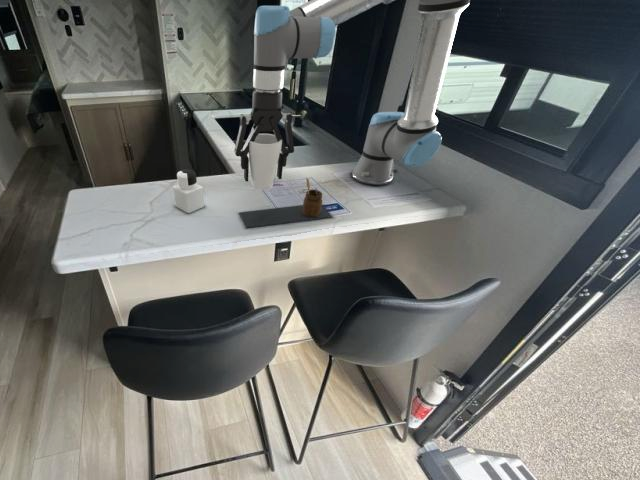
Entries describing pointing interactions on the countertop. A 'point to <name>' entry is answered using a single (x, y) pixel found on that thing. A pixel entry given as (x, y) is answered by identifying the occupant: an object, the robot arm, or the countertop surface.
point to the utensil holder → (312, 201)
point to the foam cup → (264, 160)
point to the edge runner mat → (279, 216)
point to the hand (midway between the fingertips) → (262, 178)
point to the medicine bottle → (188, 192)
